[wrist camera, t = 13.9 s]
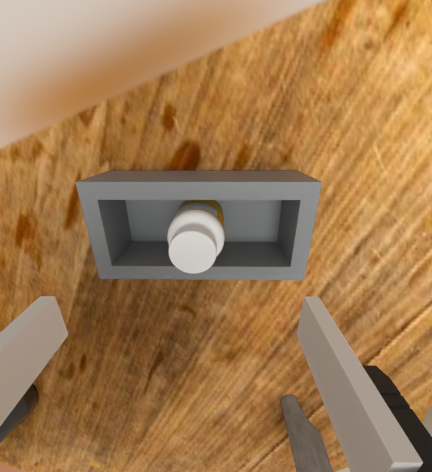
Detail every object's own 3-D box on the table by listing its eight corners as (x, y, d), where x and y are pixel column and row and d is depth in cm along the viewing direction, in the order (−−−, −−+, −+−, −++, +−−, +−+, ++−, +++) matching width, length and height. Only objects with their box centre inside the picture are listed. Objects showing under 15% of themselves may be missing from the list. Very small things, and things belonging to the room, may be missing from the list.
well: (124, 248, 31) (99, 278, 24) (110, 170, 26) (75, 181, 20) (286, 249, 30) (303, 280, 24) (297, 170, 26) (322, 181, 20)
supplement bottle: (214, 241, 29) (212, 288, 20) (173, 227, 28) (152, 269, 19) (230, 202, 27) (235, 236, 18) (186, 186, 26) (170, 213, 17)
